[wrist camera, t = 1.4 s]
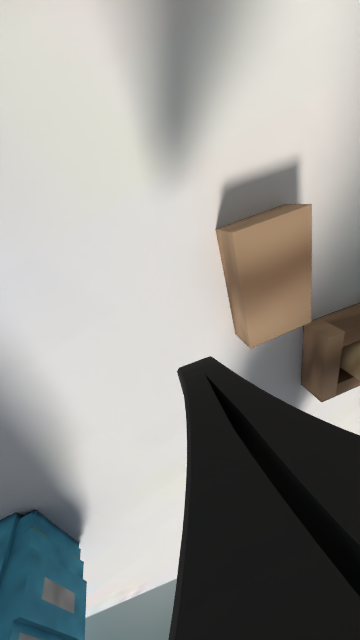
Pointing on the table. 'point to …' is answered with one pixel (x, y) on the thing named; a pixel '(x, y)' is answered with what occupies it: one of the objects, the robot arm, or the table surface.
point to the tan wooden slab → (268, 272)
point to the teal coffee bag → (40, 581)
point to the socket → (329, 353)
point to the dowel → (351, 359)
